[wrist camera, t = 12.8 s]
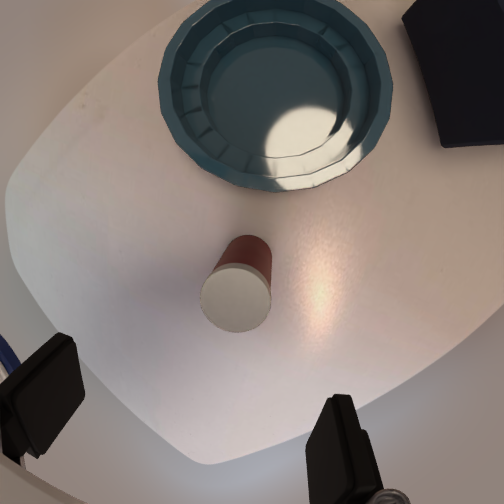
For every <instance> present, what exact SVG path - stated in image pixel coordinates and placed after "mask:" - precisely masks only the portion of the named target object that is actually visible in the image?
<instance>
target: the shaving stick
mask: <svg viewBox="0 0 504 504" xmlns="http://www.w3.org/2000/svg"><path fill="white" fill-rule="evenodd" d="M271 269H272V254H271V250H270V248H269V246H268V245H267V244H266V243H265V242H264V241H263V240H262V239H260V238H258V237H256V236H252V235H244V236H240V237H238V238H236V239H234V240H233V241H232V242H231V243H230V244H229V246H228V247H227V249H226V250H225V252H224V253H223V255H222V257H221V258H220V260H219V261H218V263H217V265H216V266H215V268H214V269H213V271H212V273H211V274H210V275H209V276H208V278H207V279H206V281H205V282H204V284H203V286H202V289H201V292H200V304H201V308H202V310H203V312H204V314H205V316H206V317H207V319H208V320H209V321H210V322H211V323H213V324H214V325H215V326H217V327H218V328H220V329H222V330H225V331H229V332H246V331H249V330H252V329H254V328H256V327H257V326H259V325H260V324H261V323H262V322H263V321H264V320H265V319H266V317H267V315H268V313H269V310H270V305H271V291H270V290H271Z"/></svg>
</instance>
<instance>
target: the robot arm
mask: <svg viewBox="0 0 504 504" xmlns="http://www.w3.org/2000/svg"><path fill="white" fill-rule="evenodd" d="M84 397H85V390H84V385H83V381H82V376H81V371H80V365H79V359H78V353H77V347H76V343H75V342H74V341H73V338H72V337H70V336H68V335H65V334H63V333H60V332H58V333H57V334H55V335H54V336H53V337H52V338H51V339H49V340H48V341H47V342H46V343H45V344H44V345H42V346H41V347H40V348H39V349H38V350H37V351H36V352H34V353H33V354H32V355H31V356H30V357H29V358H28V359H27V360H26V361H24V362H23V363H22V364H21V365H20V366H19V367H18V368H17V369H16V370H14V371H13V372H12V373H11V374H10V375H9V374H8V373H7V371H6V369H5V367H4V366H3V364H2V363H1V361H0V504H88V503H85V502H83V501H81V500H79V499H77V498H75V497H73V496H71V495H69V494H67V493H65V492H63V491H61V490H59V489H57V488H56V487H54V486H52V485H50V484H49V483H47V482H45V481H43V480H42V479H40V478H38V477H37V476H35V475H33V474H32V473H30V472H29V471H27V470H26V467H25V461H24V454H25V453H26V452H27V453H28V454H30V455H32V456H33V457H35V458H36V459H38V458H39V456H40V455H43V454H45V453H46V451H47V450H48V449H49V447H50V446H51V444H52V443H53V442H54V440H55V439H56V437H57V436H58V434H59V433H60V431H61V430H62V429H63V427H64V426H65V425H66V423H67V422H68V421H69V419H70V418H71V416H72V415H73V414H74V412H75V411H76V409H77V408H78V407H79V405H80V404H81V403H82V401H83V400H84ZM305 452H306V463H307V475H308V488H309V500H310V501H309V502H310V504H411V503H410V501H409V498H408V497H407V496H406V495H405V494H404V493H402V492H401V491H399V490H396V489H384V488H383V484H382V481H381V477H380V473H379V470H378V466H377V463H376V459H375V456H374V452H373V449H372V446H371V443H370V439H369V436H368V433H367V432H366V430H364V429H361V427H360V424H359V420H358V417H357V414H356V410H355V407H354V404H353V401H352V398H351V396H350V395H344V394H334V395H333V396H332V398H327V400H326V403H325V405H324V407H323V409H322V412H321V414H320V416H319V418H318V420H317V422H316V425H315V427H314V429H313V431H312V433H311V435H310V437H309V439H308V441H307V444H306V450H305Z"/></svg>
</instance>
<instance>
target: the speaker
mask: <svg viewBox="0 0 504 504" xmlns="http://www.w3.org/2000/svg"><path fill="white" fill-rule="evenodd" d="M401 19H402V21H403V23H404V26H405V28H406V30H407V33H408V35H409V38H410V40H411V43H412V45H413V48H414V50H415V53H416V56H417V59H418V62H419V64H420V67H421V70H422V73H423V76H424V80H425V83H426V86H427V89H428V93H429V96H430V100H431V104H432V108H433V111H434V115H435V120H436V124H437V128H438V133H439V137H440V142H441V146H443V147H444V148H452V147H465V146H481V145H501V144H504V0H416V1H415V2H414V3H413V5H412V6H411V7H410V8H409V9H408V10H407V11H406V13H405V14H404V15H403V16H402V18H401Z"/></svg>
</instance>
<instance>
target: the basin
mask: <svg viewBox="0 0 504 504" xmlns="http://www.w3.org/2000/svg"><path fill="white" fill-rule="evenodd" d="M158 90H159V99H160V108H161V114H162V116H163V118H164V120H165V122H166V124H167V126H168V128H169V130H170V132H171V134H172V136H173V138H174V140H175V142H176V143H177V145H178V146H179V147H180V148H181V149H182V150H183V151H184V152H186V153H187V154H188V155H189V156H190V157H191V158H192V159H193V160H194V161H195V162H196V163H197V164H198V165H199V166H200V167H201V168H202V169H204V170H206V171H208V172H210V173H212V174H214V175H216V176H218V177H220V178H222V179H224V180H226V181H228V182H230V183H231V184H233V185H237V186H240V187H246V188H252V189H258V190H263V191H269V192H284V191H292V190H300V189H309V188H314V187H317V186H319V185H322V184H324V183H326V182H328V181H330V180H333V179H335V178H337V177H339V176H341V175H344V174H346V173H348V172H349V171H350V170H352V169H353V168H354V167H355V166H356V165H357V164H358V163H359V162H360V161H361V160H362V159H363V158H364V157H365V156H367V155H368V154H369V153H370V152H371V151H372V150H373V149H374V148H375V146H376V144H377V142H378V140H379V138H380V137H381V135H382V133H383V131H384V129H385V127H386V125H387V123H388V121H389V119H390V118H389V117H390V111H391V102H392V92H393V81H392V77H391V73H390V69H389V65H388V61H387V57H386V54H385V52H384V50H383V48H382V47H381V45H380V44H379V42H378V41H377V39H376V37H375V36H374V34H373V33H372V31H371V30H370V28H369V27H368V26H367V24H366V23H364V22H363V21H362V20H361V19H360V18H359V17H358V16H356V15H355V14H354V13H353V12H352V11H350V10H349V9H348V8H347V7H345V6H344V5H343V4H342V3H340V2H338V1H336V0H210V1H209V2H207V3H206V4H205V5H203V6H202V7H201V8H200V9H198V10H197V11H196V12H195V13H193V14H192V15H191V16H190V17H189V18H187V19H186V20H185V21H184V22H183V23H182V24H181V26H180V27H179V29H178V30H177V32H176V33H175V35H174V36H173V38H172V39H171V41H170V42H169V44H168V46H167V47H166V50H165V52H164V56H163V60H162V64H161V68H160V72H159V77H158Z"/></svg>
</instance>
